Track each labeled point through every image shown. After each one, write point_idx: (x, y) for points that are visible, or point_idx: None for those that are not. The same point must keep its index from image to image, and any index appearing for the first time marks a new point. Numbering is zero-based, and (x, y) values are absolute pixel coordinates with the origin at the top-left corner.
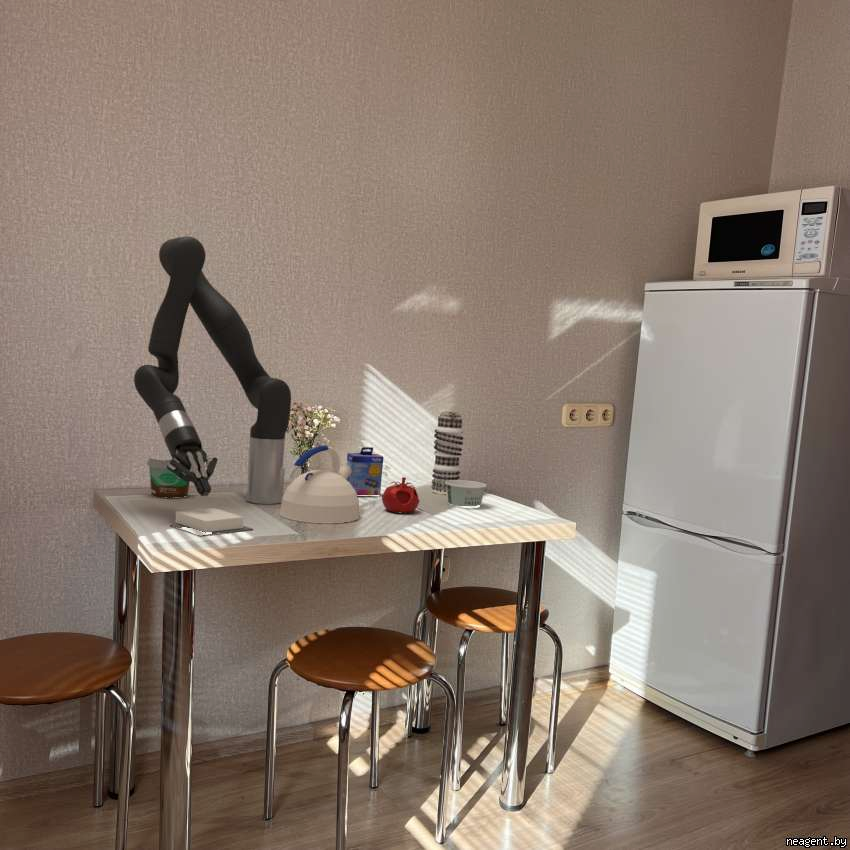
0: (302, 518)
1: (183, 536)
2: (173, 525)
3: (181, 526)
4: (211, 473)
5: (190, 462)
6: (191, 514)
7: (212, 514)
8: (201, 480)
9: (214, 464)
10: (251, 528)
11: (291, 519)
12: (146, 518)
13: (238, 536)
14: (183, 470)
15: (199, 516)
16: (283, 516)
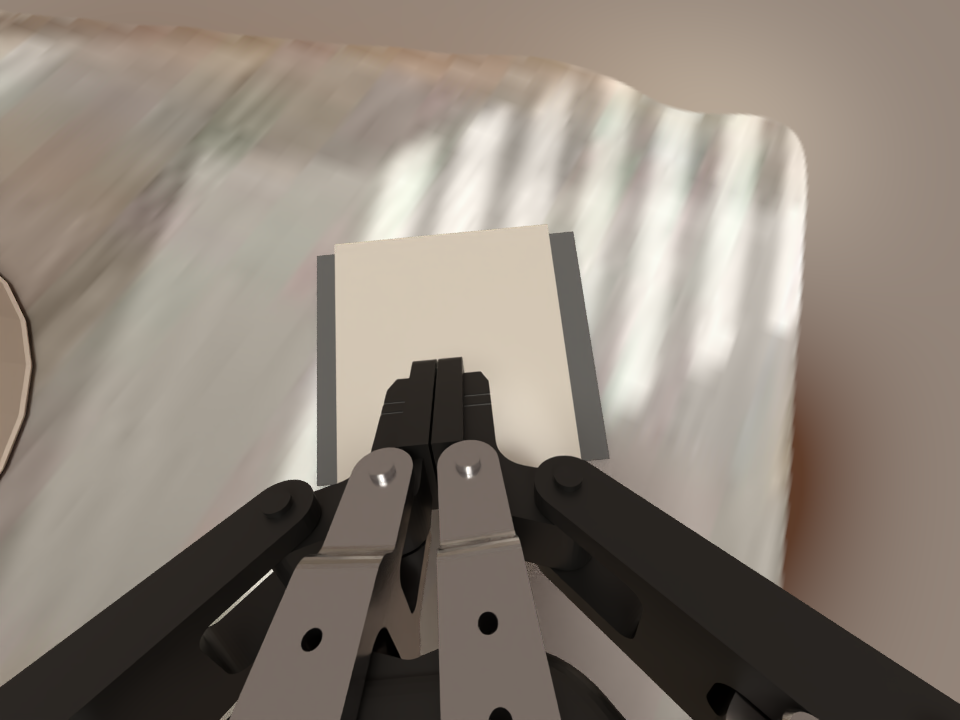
0: (6, 315)
1: (628, 263)
2: (600, 439)
3: (574, 406)
4: (274, 495)
5: (548, 676)
6: (540, 387)
7: (439, 350)
8: (454, 421)
9: (53, 669)
10: (318, 264)
11: (30, 374)
12: (649, 693)
13: (432, 191)
14: (675, 525)
15: (524, 328)
16: (13, 440)
